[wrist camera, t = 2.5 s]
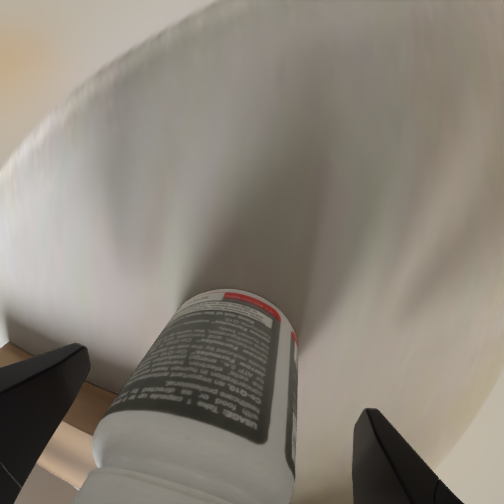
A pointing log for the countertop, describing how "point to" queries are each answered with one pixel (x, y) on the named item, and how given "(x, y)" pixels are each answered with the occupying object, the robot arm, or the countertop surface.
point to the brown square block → (70, 428)
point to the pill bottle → (204, 411)
